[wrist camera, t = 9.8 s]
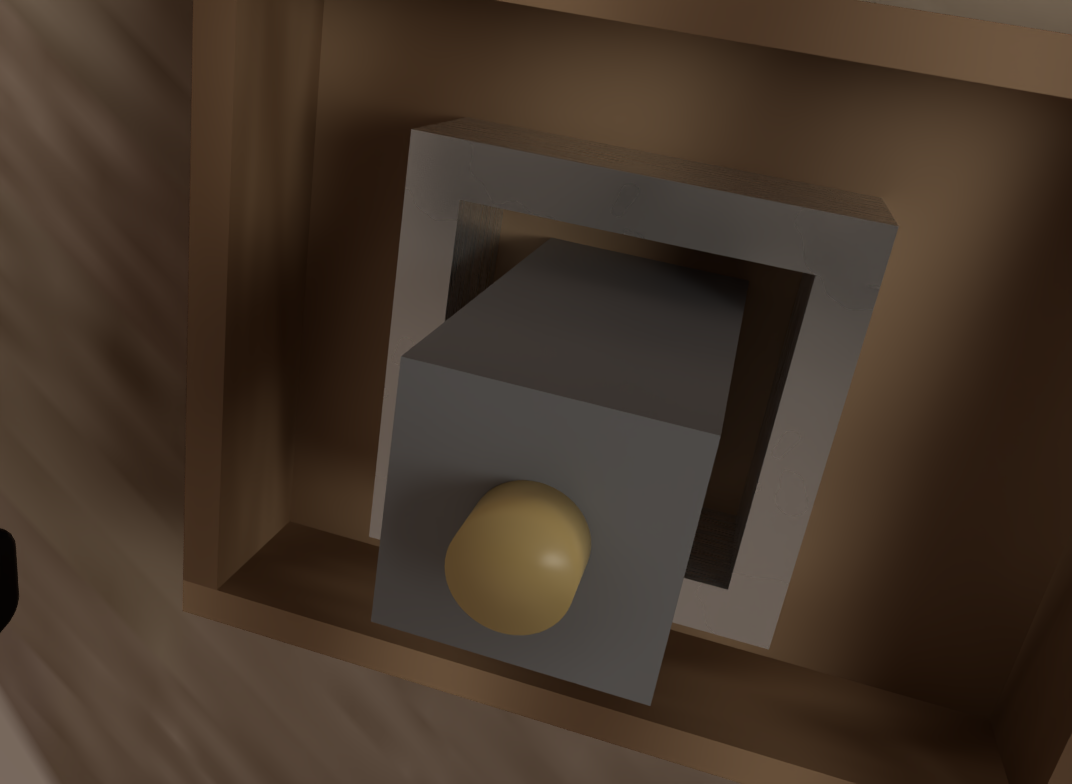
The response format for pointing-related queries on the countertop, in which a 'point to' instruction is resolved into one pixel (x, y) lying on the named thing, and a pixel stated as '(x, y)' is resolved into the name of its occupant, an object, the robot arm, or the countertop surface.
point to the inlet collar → (687, 221)
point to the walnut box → (870, 407)
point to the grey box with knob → (559, 464)
